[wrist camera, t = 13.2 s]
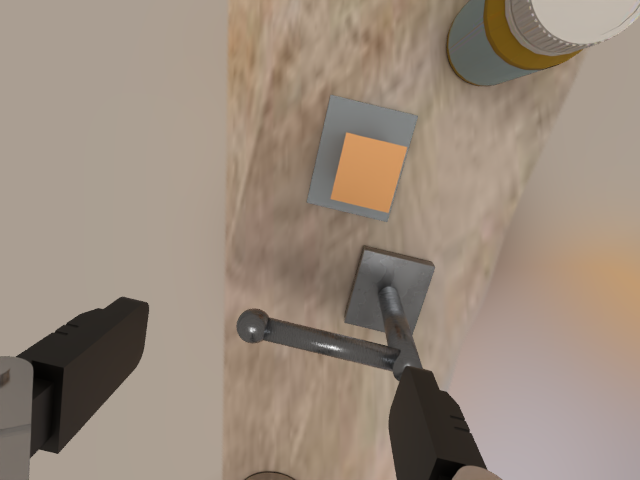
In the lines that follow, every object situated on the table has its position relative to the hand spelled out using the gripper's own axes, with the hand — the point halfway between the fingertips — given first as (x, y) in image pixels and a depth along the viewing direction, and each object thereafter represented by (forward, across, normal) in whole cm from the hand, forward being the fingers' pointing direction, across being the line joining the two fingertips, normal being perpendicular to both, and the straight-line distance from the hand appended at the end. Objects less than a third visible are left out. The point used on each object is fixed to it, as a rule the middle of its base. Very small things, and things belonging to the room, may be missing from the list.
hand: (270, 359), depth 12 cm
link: (+26, -3, -5) cm, 27 cm away
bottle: (+27, -11, -18) cm, 34 cm away
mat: (+27, -3, -5) cm, 27 cm away
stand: (+27, -4, +7) cm, 28 cm away
